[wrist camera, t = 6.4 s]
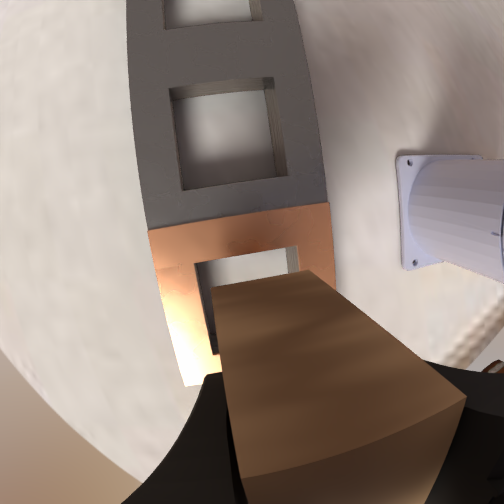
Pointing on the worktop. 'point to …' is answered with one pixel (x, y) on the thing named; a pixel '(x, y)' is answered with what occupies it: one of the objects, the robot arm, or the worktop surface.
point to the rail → (233, 194)
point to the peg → (327, 398)
